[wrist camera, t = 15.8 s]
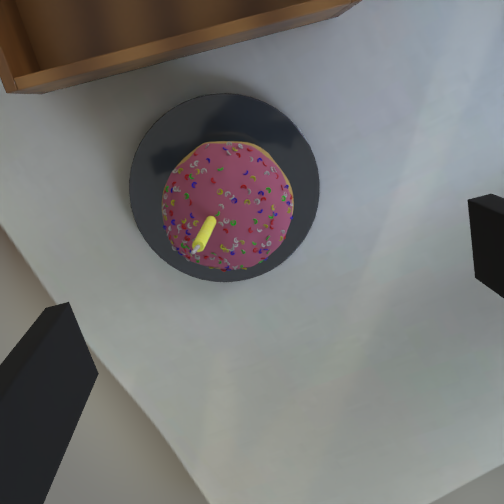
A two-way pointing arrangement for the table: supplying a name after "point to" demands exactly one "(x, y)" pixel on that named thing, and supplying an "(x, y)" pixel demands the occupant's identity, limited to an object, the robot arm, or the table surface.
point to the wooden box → (131, 34)
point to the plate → (211, 130)
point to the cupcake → (227, 205)
